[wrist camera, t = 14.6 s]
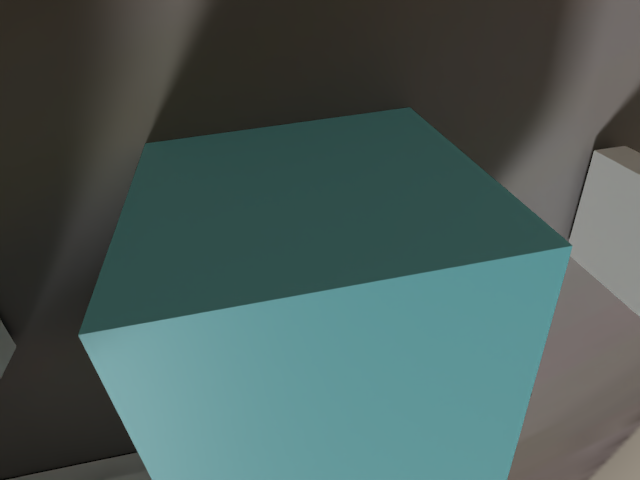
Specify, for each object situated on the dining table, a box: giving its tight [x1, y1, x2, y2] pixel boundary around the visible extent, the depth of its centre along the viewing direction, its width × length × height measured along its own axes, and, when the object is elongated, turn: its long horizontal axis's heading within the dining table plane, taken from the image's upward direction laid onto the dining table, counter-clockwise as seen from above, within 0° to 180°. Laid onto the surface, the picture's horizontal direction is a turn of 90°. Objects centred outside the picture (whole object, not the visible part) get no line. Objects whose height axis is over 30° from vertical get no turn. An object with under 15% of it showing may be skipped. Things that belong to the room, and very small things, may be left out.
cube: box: [78, 107, 573, 480], centre depth 8 cm, size 5×5×5 cm
